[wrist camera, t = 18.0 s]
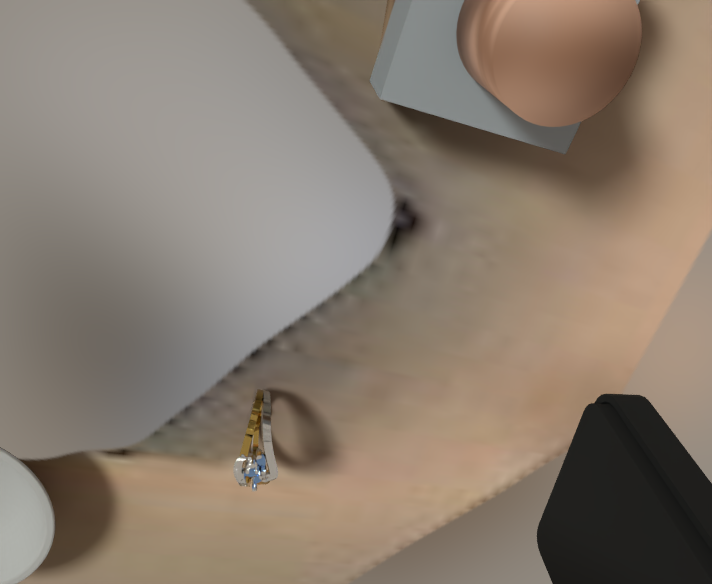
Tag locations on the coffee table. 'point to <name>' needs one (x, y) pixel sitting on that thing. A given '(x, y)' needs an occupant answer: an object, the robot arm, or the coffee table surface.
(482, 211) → the coffee table surface
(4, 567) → the dish
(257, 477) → the ring
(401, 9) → the upper slab
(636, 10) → the drum
